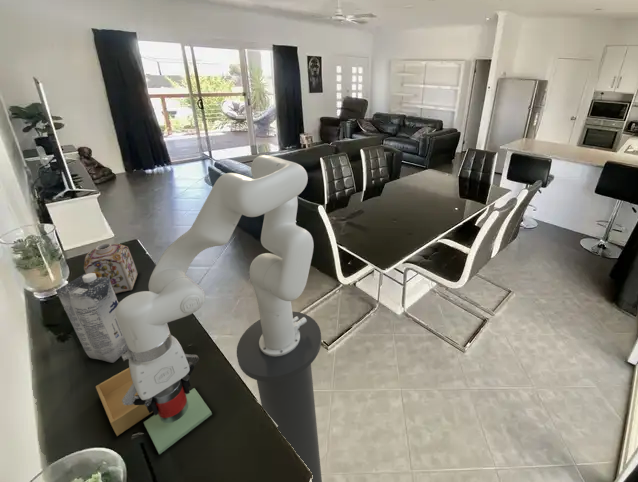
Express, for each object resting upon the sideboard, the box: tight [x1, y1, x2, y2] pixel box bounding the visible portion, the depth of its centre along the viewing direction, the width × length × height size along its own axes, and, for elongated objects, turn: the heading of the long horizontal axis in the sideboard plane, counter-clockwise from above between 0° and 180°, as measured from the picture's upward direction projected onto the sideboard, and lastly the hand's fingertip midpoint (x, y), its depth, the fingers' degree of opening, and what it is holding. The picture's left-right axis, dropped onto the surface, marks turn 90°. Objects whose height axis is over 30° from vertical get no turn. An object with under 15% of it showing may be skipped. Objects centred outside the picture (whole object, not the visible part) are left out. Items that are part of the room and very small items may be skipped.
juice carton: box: [55, 273, 128, 363], centre depth 93 cm, size 9×10×27 cm
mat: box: [143, 387, 213, 455], centre depth 80 cm, size 12×10×1 cm
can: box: [152, 379, 188, 423], centre depth 77 cm, size 6×6×9 cm
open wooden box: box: [95, 367, 154, 437], centre depth 84 cm, size 14×14×5 cm
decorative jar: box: [83, 243, 139, 295], centre depth 123 cm, size 12×12×18 cm
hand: (170, 399), depth 77 cm, fingers closed on can, 6 cm apart
